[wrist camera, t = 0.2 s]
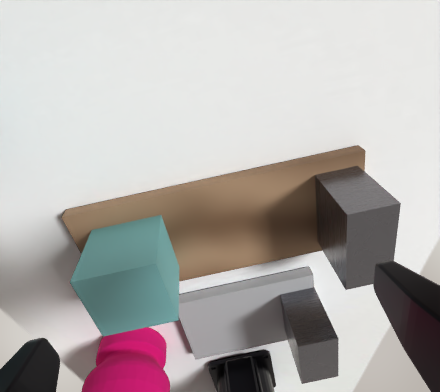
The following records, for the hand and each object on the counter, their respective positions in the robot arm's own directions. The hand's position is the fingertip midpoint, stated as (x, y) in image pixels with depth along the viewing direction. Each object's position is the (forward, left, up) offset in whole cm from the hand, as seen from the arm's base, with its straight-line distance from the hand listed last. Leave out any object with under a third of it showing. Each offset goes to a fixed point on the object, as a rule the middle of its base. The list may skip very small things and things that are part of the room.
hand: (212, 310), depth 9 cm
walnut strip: (-7, 0, -14) cm, 16 cm away
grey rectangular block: (-18, -1, -14) cm, 23 cm away
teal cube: (-7, +6, -13) cm, 16 cm away
